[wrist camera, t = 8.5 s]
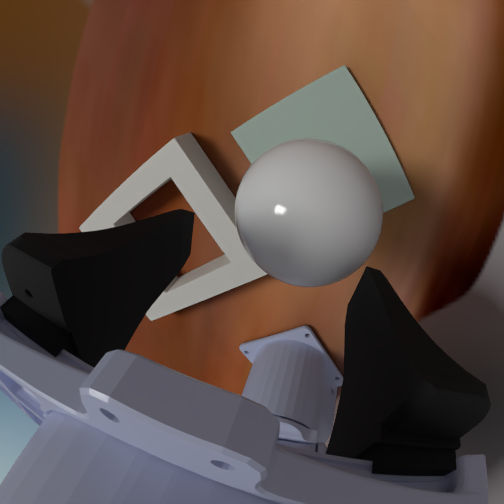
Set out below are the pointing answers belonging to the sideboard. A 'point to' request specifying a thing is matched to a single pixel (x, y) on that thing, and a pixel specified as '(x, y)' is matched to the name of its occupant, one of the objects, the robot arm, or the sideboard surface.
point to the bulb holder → (207, 209)
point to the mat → (330, 130)
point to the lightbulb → (308, 212)
